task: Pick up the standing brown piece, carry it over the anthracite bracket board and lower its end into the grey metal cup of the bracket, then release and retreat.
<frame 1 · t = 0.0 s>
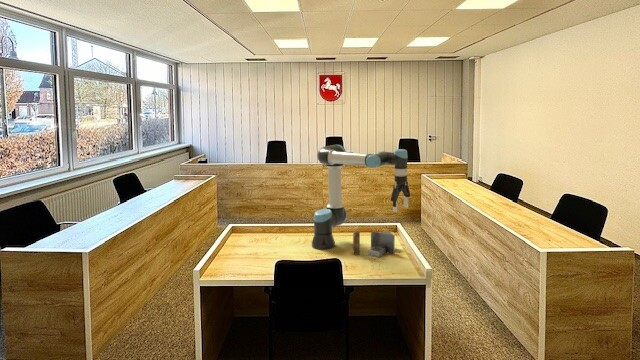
hand: (400, 209, 323), 28 cm above the table, fingers open, 13 cm apart
brown piece: (356, 253, 329), on the table
mug: (382, 247, 341), on the table
bracket: (378, 253, 329), on the table
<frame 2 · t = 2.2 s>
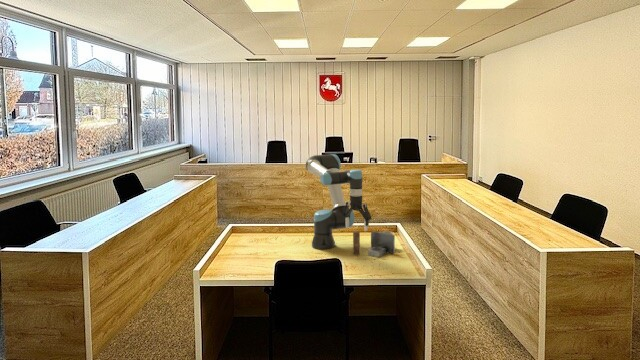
hand: (356, 229, 326), 16 cm above the table, fingers open, 13 cm apart
nothing on the table moved.
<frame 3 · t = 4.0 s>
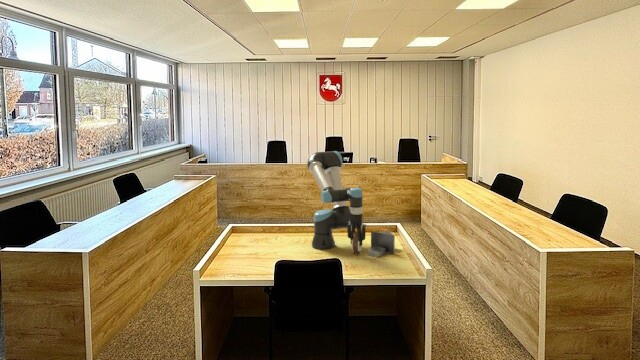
hand: (356, 249, 329), 3 cm above the table, fingers closed on brown piece, 4 cm apart
brown piece: (356, 253, 329), on the table, touching gripper
everything else where it was.
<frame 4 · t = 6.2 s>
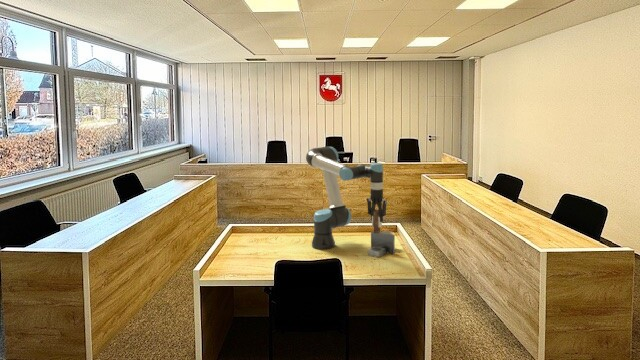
hand: (376, 226, 324), 18 cm above the table, fingers closed on brown piece, 4 cm apart
brown piece: (376, 232, 325), point 14 cm above the table, touching gripper
everything else where it was.
when the fingers open (5 cm above the table, at t = 8.2 s): brown piece stays where it is, resting on bracket.
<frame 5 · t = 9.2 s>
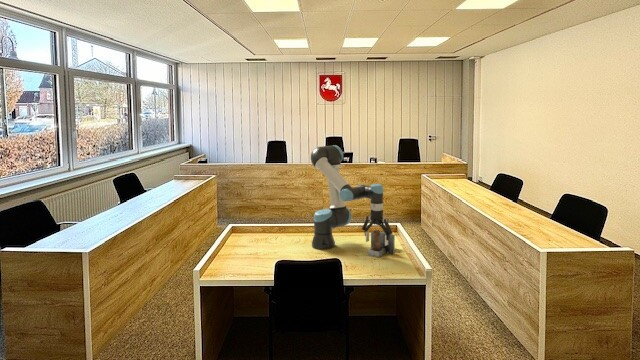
hand: (376, 243, 326), 7 cm above the table, fingers open, 13 cm apart
brown piece: (376, 253, 327), point 1 cm above the table, touching bracket
everything else where it was.
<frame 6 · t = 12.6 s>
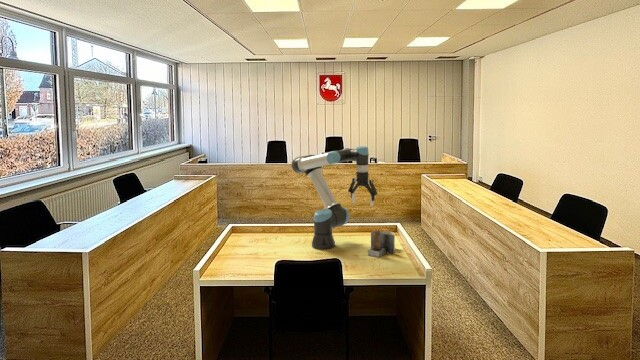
hand: (362, 204, 335), 29 cm above the table, fingers open, 13 cm apart
nothing on the table moved.
at the end: brown piece 0.1 cm from the target spot on the bracket, point 1.0 cm above the bracket's base; brown piece tilted 0°; the gripper is holding nothing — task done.
